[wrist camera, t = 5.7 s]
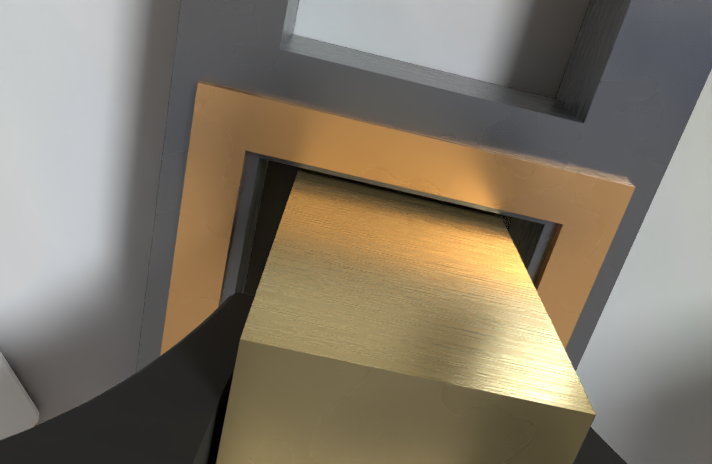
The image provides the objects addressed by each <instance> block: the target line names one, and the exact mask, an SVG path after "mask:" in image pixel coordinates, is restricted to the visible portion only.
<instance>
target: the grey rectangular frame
mask: <svg viewBox="0 0 712 464" xmlns="http://www.w3.org/2000/svg"><path fill="white" fill-rule="evenodd" d="M298 4H299V0H181V5H180V13H179V22H178V30H177V38H176V47H175V55H174V63H173V71H172V80H171V88H170V96H169V105H168V113H167V121H166V129H165V138H164V146H163V154H162V163H161V171H160V179H159V188H158V196H157V204H156V212H155V221H154V229H153V237H152V246H151V254H150V262H149V270H148V279H147V287H146V295H145V304H144V312H143V320H142V329H141V337H140V345H139V353H138V362H137V370H136V373H137V372H138V371H140V370H141V369H142V368H144V367H145V366H147V365H148V364H150V363H151V362H152V361H154V360H155V359H157V358H158V357H159V356H161V355H162V354H164V353H165V352H167V351H168V350H169V349H171V348H172V347H173V346H174V345H176V344H177V343H178V342H179V341H181V340H182V339H183V338H184V337H185V336H187V335H188V334H189V333H190V332H192V331H193V330H194V329H195V328H196V327H198V326H199V325H200V324H201V323H202V322H203V321H204V320H205V319H207V318H208V317H209V316H210V315H211V314H212V313H213V312H214V311H215V310H216V309H217V308H218V307H219V306H220V305H221V304H222V303H223V302H224V301H225V300H226V299H227V298H228V297H229V296H231V295H233V294H234V293H240V294H244V289H245V283H246V278H247V273H248V268H249V262H250V257H251V252H252V246H253V241H254V236H255V231H256V225H257V220H258V215H259V210H260V204H261V199H262V194H263V189H264V183H265V178H266V173H267V168H268V162H269V160H270V161H274V162H279V163H283V164H287V165H292V166H296V167H300V168H305V169H309V170H313V171H317V172H322V173H326V174H330V175H335V176H339V177H343V178H348V179H352V180H356V181H360V182H365V183H369V184H373V185H378V186H382V187H386V188H391V189H395V190H399V191H403V192H408V193H412V194H416V195H421V196H425V197H429V198H434V199H438V200H442V201H447V202H451V203H455V204H459V205H464V206H468V207H472V208H477V209H481V210H485V211H490V212H494V213H498V214H502V215H507V216H511V217H513V218H512V221H511V224H510V226H509V229H508V233H509V235H510V237H511V239H512V241H513V243H514V245H515V247H516V249H517V251H518V254H519V256H520V258H521V260H522V262H523V264H524V266H525V268H526V270H527V272H528V274H529V276H530V279H531V281H532V283H533V285H534V287H535V289H536V291H537V293H538V295H539V297H540V299H541V301H542V303H543V306H544V308H545V310H546V312H547V314H548V316H549V318H550V320H551V322H552V324H553V326H554V328H555V331H556V333H557V335H558V337H559V339H560V341H561V343H562V345H563V347H564V349H565V351H566V353H567V356H568V358H569V360H570V362H571V364H572V366H573V368H574V370H575V371H576V369H577V367H578V364H579V362H580V360H581V358H582V356H583V353H584V351H585V349H586V347H587V344H588V342H589V340H590V338H591V336H592V333H593V331H594V329H595V327H596V324H597V322H598V320H599V318H600V316H601V313H602V311H603V309H604V307H605V305H606V302H607V300H608V298H609V296H610V293H611V291H612V289H613V287H614V285H615V282H616V280H617V278H618V276H619V273H620V271H621V269H622V267H623V265H624V262H625V260H626V258H627V256H628V253H629V251H630V249H631V247H632V245H633V242H634V240H635V238H636V236H637V233H638V231H639V229H640V227H641V225H642V222H643V220H644V218H645V216H646V213H647V211H648V209H649V207H650V205H651V202H652V200H653V198H654V196H655V193H656V191H657V189H658V187H659V185H660V182H661V180H662V178H663V176H664V173H665V171H666V169H667V167H668V165H669V162H670V160H671V158H672V156H673V153H674V151H675V149H676V147H677V145H678V142H679V140H680V138H681V136H682V133H683V131H684V129H685V127H686V125H687V122H688V120H689V118H690V116H691V113H692V111H693V109H694V107H695V105H696V102H697V100H698V98H699V96H700V93H701V91H702V89H703V87H704V85H705V82H706V80H707V78H708V76H709V73H710V71H711V69H712V0H591V2H590V5H589V8H588V11H587V13H586V16H585V19H584V22H583V24H582V27H581V30H580V33H579V36H578V38H577V41H576V44H575V47H574V49H573V52H572V55H571V58H570V60H569V63H568V66H567V69H566V71H565V74H564V77H563V80H562V83H561V85H560V88H559V91H558V94H557V96H556V99H553V98H549V97H545V96H541V95H537V94H533V93H528V92H524V91H520V90H516V89H512V88H508V87H504V86H500V85H496V84H492V83H488V82H484V81H480V80H476V79H472V78H468V77H464V76H459V75H455V74H451V73H447V72H443V71H439V70H435V69H431V68H427V67H423V66H419V65H415V64H411V63H407V62H403V61H399V60H395V59H391V58H386V57H382V56H378V55H374V54H370V53H366V52H362V51H358V50H354V49H350V48H346V47H342V46H338V45H334V44H330V43H326V42H322V41H318V40H313V39H309V38H305V37H301V36H297V35H293V31H294V25H295V20H296V15H297V10H298Z"/></svg>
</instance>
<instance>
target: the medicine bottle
mask: <svg viewBox="0 0 712 464" xmlns="http://www.w3.org/2000/svg"><path fill="white" fill-rule="evenodd" d="M38 419H39V412H38V409H37V408H36V406H35V405H34V403H33V402H32V400H31V398H30V397H29V395H28V394H27V392H26V391H25V389H24V387H23V386H22V384H21V383H20V381H19V380H18V378H17V376H16V375H15V373H14V372H13V370H12V369H11V367H10V365H9V364H8V362H7V361H6V359H5V358H4V356H3V355H2V353H1V351H0V440H2V439H5V438H7V437H10V436H12V435H15V434H18V433H20V432H23V431H25V430H28V429H30V428H33V427H35V426H36V425H37V422H38Z"/></svg>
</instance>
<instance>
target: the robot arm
mask: <svg viewBox="0 0 712 464" xmlns="http://www.w3.org/2000/svg"><path fill="white" fill-rule="evenodd" d="M253 300H254V296H249V295H245V294H240V293H234V294H233V295H231V296H229V297H228V298H227V299H226V300H225V301H224V302H223V303H222V304H221V305H220V306H219V307H218V308H217V309H216V310H215V311H214V312H213V313H212V314H211V315H210V316H209V317H208V318H207V319H205V320H204V321H203V322H202V323H201V324H200V325H199V326H198V327H196V328H195V329H194V330H193V331H192V332H190V333H189V334H188V335H187V336H185V337H184V338H183V339H182V340H181V341H179V342H178V343H177V344H176V345H174V346H173V347H172V348H171V349H169V350H168V351H167V352H165V353H164V354H162V355H161V356H159V357H158V358H157V359H155V360H154V361H152V362H151V363H150V364H148V365H147V366H145V367H144V368H142V369H141V370H140V371H138V372H137V373H135V374H134V375H132V376H131V377H129V378H127V379H126V380H124V381H123V382H121V383H119V384H118V385H116V386H114V387H113V388H111V389H109V390H108V391H106V392H104V393H102V394H101V395H99V396H97V397H95V398H93V399H92V400H90V401H88V402H86V403H84V404H82V405H80V406H78V407H76V408H74V409H72V410H70V411H68V412H65V413H63V414H61V415H59V416H57V417H55V418H52V419H50V420H48V421H46V422H44V423H41V424H39V425H37V426H35V427H33V428H30V429H28V430H25V431H23V432H20V433H18V434H15V435H12V436H10V437H7V438H5V439H2V440H0V464H216V461H217V455H218V450H219V445H220V440H221V435H222V430H223V425H224V419H225V414H226V409H227V404H228V399H229V394H230V389H231V383H232V378H233V373H234V368H235V363H236V358H237V353H238V347H239V342H240V338H241V335H242V332H243V329H244V326H245V323H246V321H247V318H248V315H249V312H250V309H251V306H252V303H253ZM573 464H627V463H626V462H625V461H624V460H623V459H622V458H621V457H620V456H619V455H618V454H617V453H616V452H615V451H614V450H613V449H612V448H611V447H610V446H609V445H608V444H607V443H606V442H605V441H604V440H603V439H602V438H601V437H600V436H599V435H598V434H597V433H596V432H595V431H594V430H593V429H592V428H591V427H590V428H589V430H588V433H587V435H586V437H585V439H584V441H583V443H582V445H581V447H580V450H579V452H578V454H577V456H576V458H575V460H574V462H573Z"/></svg>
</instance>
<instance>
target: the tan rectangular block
mask: <svg viewBox="0 0 712 464" xmlns="http://www.w3.org/2000/svg"><path fill="white" fill-rule="evenodd" d="M595 416H596V414H595V412H594V410H593V408H592V405H591V403H590V401H589V399H588V397H587V395H586V393H585V391H584V389H583V387H582V385H581V383H580V381H579V378H578V376H577V374H576V372H575V370H574V368H573V366H572V364H571V362H570V360H569V358H568V356H567V353H566V351H565V349H564V347H563V345H562V343H561V341H560V339H559V337H558V335H557V333H556V331H555V328H554V326H553V324H552V322H551V320H550V318H549V316H548V314H547V312H546V310H545V308H544V306H543V303H542V301H541V299H540V297H539V295H538V293H537V291H536V289H535V287H534V285H533V283H532V281H531V279H530V276H529V274H528V272H527V270H526V268H525V266H524V264H523V262H522V260H521V258H520V256H519V254H518V251H517V249H516V247H515V245H514V243H513V241H512V239H511V237H510V235H509V233H508V231H507V229H506V226H505V224H504V222H503V220H502V218H501V216H500V214H498V213H494V212H490V211H485V210H481V209H477V208H472V207H468V206H464V205H459V204H455V203H451V202H447V201H442V200H438V199H434V198H429V197H425V196H421V195H416V194H412V193H408V192H403V191H399V190H395V189H391V188H386V187H382V186H378V185H373V184H369V183H365V182H360V181H356V180H352V179H348V178H343V177H339V176H335V175H330V174H326V173H322V172H317V171H313V170H309V169H305V168H300V167H299V169H298V172H297V175H296V178H295V181H294V184H293V187H292V190H291V193H290V196H289V199H288V201H287V204H286V207H285V210H284V213H283V216H282V219H281V222H280V225H279V228H278V230H277V233H276V236H275V239H274V242H273V245H272V248H271V251H270V254H269V257H268V260H267V262H266V265H265V268H264V271H263V274H262V277H261V280H260V283H259V286H258V289H257V291H256V294H255V297H254V300H253V303H252V306H251V309H250V312H249V315H248V318H247V321H246V323H245V326H244V329H243V332H242V335H241V338H240V342H239V347H238V353H237V358H236V363H235V368H234V373H233V378H232V383H231V389H230V394H229V399H228V404H227V409H226V414H225V419H224V425H223V430H222V435H221V440H220V445H219V450H218V455H217V461H216V464H573V462H574V460H575V458H576V456H577V454H578V452H579V450H580V447H581V445H582V443H583V441H584V439H585V437H586V435H587V433H588V430H589V428H590V426H591V424H592V422H593V420H594V418H595Z"/></svg>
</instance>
